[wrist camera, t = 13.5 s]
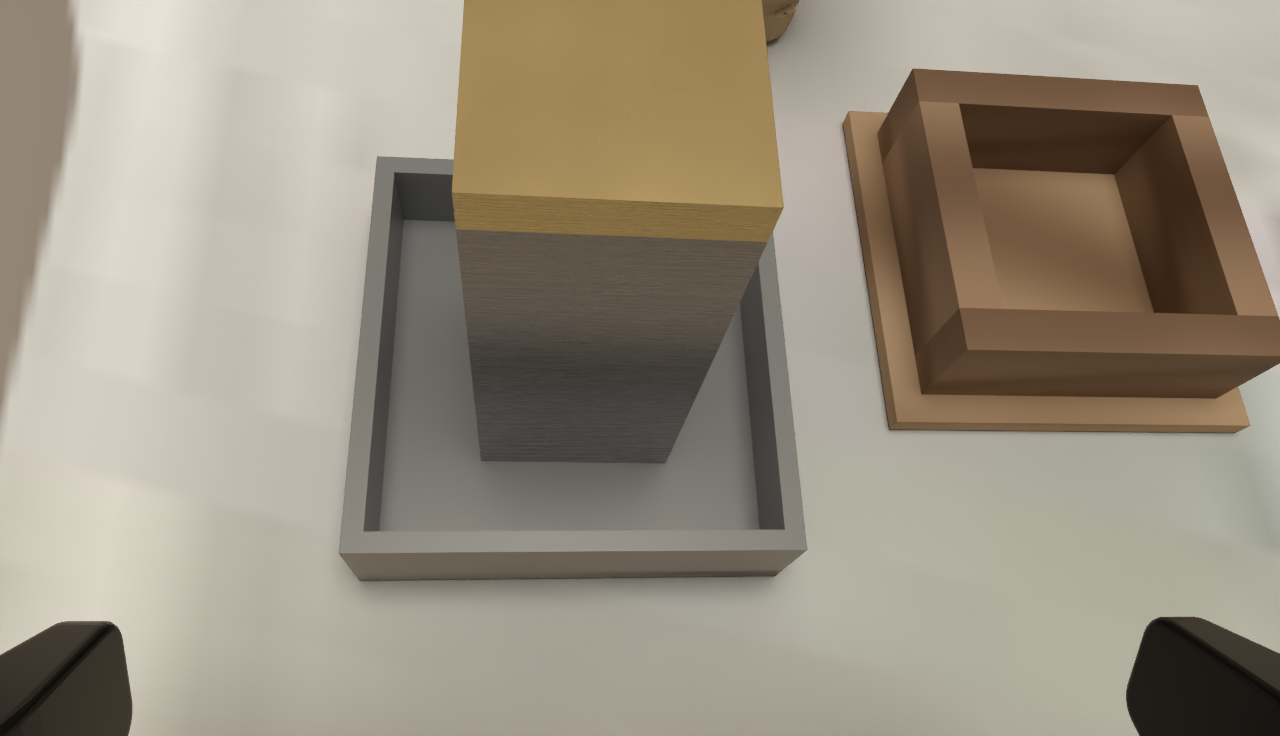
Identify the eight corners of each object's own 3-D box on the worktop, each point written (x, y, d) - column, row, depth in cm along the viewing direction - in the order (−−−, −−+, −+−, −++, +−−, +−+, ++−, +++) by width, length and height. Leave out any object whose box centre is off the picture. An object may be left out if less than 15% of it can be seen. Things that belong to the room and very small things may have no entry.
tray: (774, 576, 20) (807, 550, 18) (359, 580, 19) (338, 552, 17) (742, 231, 24) (766, 173, 22) (390, 218, 23) (377, 156, 21)
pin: (665, 463, 21) (783, 208, 11) (481, 461, 20) (451, 191, 11) (659, 302, 22) (757, -35, 13) (488, 296, 22) (467, -57, 13)
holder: (1236, 432, 23) (1331, 386, 21) (889, 429, 22) (941, 379, 19) (1144, 138, 27) (1214, 65, 24) (843, 122, 26) (881, 44, 23)
